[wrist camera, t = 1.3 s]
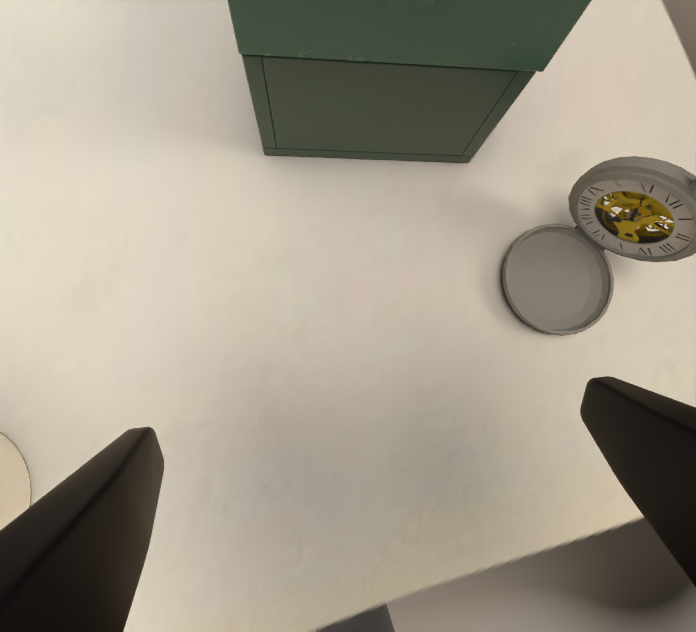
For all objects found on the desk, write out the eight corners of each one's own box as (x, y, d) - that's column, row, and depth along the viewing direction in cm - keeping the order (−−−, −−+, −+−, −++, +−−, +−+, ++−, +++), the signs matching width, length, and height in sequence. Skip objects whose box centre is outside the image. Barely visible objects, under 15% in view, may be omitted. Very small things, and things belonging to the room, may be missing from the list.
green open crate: (269, -43, 26) (250, -216, 18) (459, -28, 27) (517, -186, 19) (264, 155, 24) (241, 55, 17) (468, 163, 25) (536, 72, 18)
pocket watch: (494, 329, 24) (621, 299, 14) (502, 195, 25) (624, 82, 15) (625, 344, 25) (835, 327, 15) (626, 213, 26) (821, 114, 16)
